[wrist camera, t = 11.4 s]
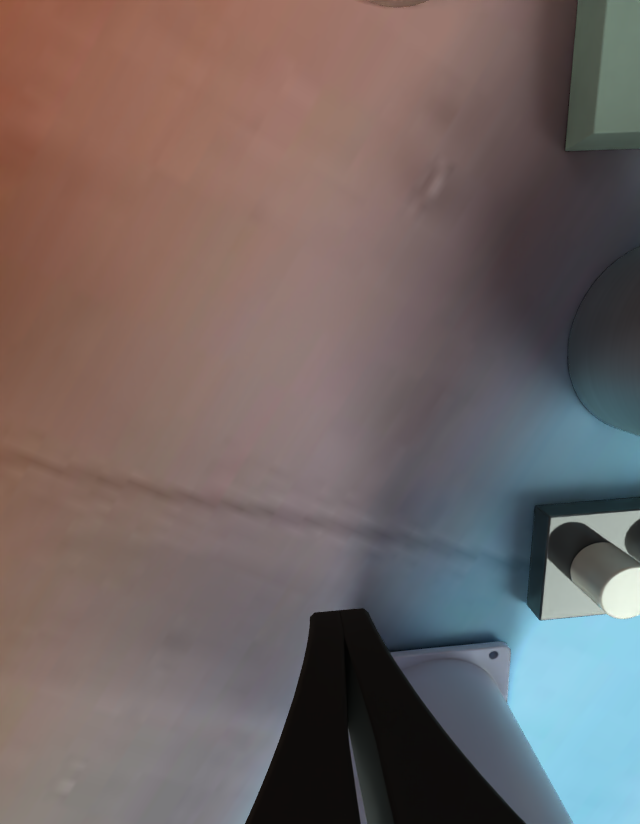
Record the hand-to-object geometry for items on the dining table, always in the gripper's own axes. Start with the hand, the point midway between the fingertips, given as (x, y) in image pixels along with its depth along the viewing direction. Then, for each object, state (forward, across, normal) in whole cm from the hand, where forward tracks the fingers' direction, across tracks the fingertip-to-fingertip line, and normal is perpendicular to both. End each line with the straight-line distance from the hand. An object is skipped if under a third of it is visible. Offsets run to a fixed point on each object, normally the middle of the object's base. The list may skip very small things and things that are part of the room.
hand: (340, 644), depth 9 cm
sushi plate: (+9, -16, +5) cm, 19 cm away
